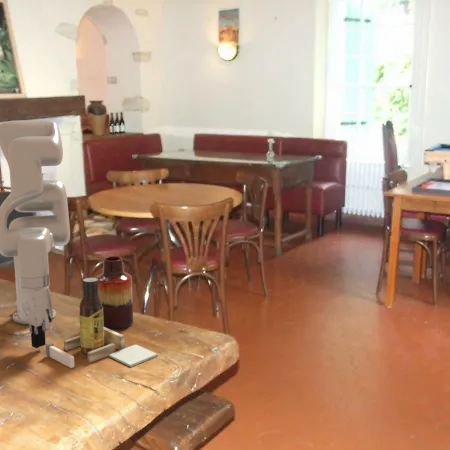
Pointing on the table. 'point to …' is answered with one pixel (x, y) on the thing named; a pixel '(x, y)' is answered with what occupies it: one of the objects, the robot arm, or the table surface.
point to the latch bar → (59, 355)
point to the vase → (115, 294)
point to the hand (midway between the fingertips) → (38, 345)
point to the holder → (110, 338)
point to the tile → (133, 355)
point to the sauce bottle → (91, 317)
